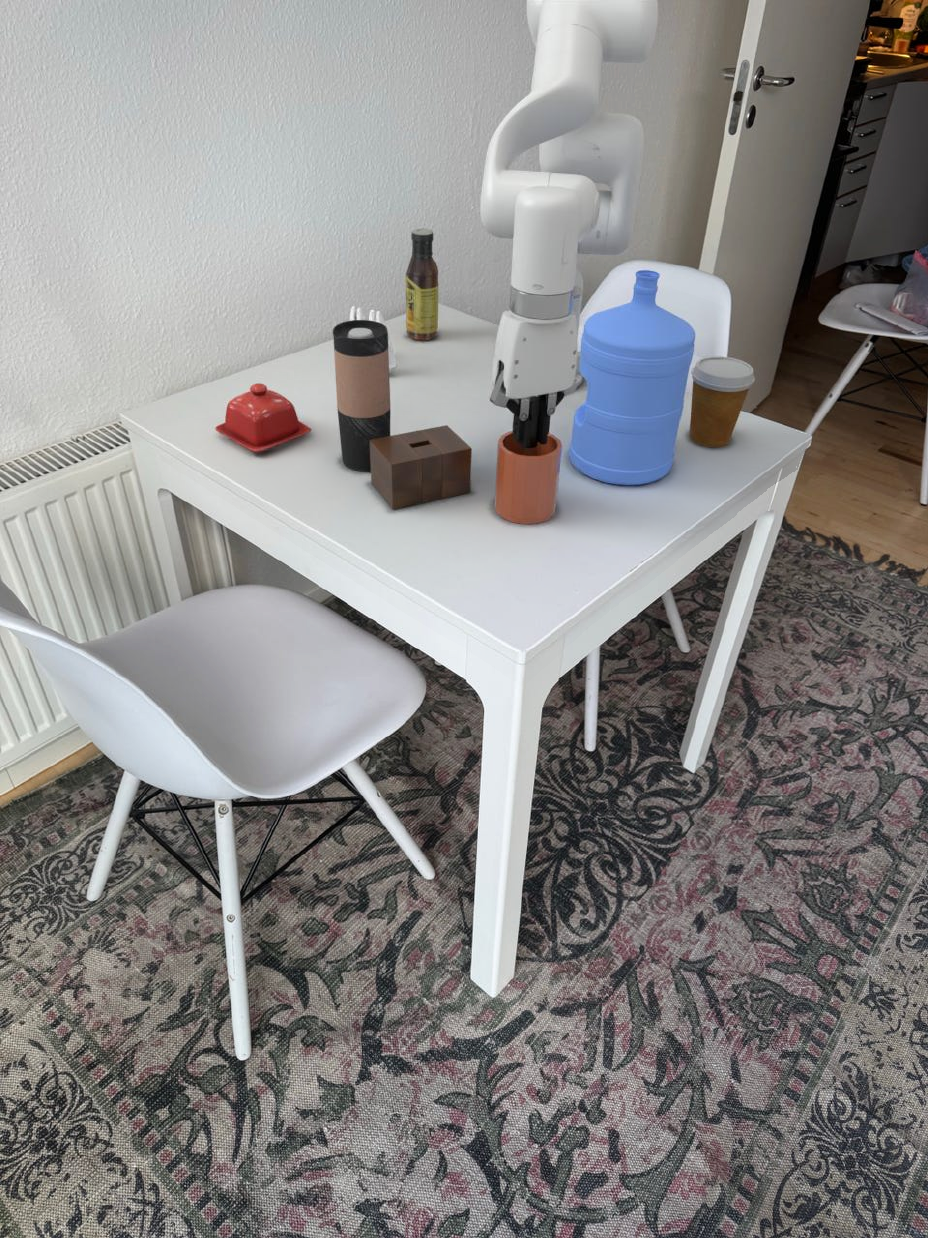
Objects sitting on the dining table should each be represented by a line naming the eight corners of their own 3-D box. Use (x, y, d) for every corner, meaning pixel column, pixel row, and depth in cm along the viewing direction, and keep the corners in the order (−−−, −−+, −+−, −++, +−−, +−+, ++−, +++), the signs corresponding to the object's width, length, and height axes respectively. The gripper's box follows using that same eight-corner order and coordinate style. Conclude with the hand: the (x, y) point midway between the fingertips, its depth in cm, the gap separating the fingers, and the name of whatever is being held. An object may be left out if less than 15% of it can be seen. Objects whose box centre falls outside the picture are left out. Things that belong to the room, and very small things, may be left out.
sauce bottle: (405, 330, 177) (404, 225, 165) (436, 330, 178) (437, 225, 166) (406, 342, 172) (405, 234, 160) (438, 342, 173) (439, 234, 161)
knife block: (446, 468, 132) (446, 424, 128) (470, 492, 127) (471, 448, 123) (371, 484, 128) (369, 439, 124) (392, 510, 122) (391, 464, 118)
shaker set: (399, 376, 159) (398, 314, 152) (379, 381, 157) (377, 319, 150) (364, 355, 167) (362, 295, 160) (345, 359, 165) (341, 299, 158)
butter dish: (316, 436, 139) (312, 385, 134) (256, 460, 133) (249, 407, 127) (271, 413, 146) (265, 363, 140) (211, 435, 139) (203, 384, 134)
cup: (535, 488, 128) (541, 424, 122) (566, 516, 122) (573, 450, 116) (484, 500, 125) (487, 435, 119) (513, 529, 119) (517, 462, 113)
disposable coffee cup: (744, 433, 144) (761, 361, 137) (732, 457, 138) (750, 383, 130) (687, 421, 147) (700, 350, 140) (672, 444, 141) (686, 371, 133)
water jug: (691, 464, 135) (730, 275, 118) (630, 499, 126) (662, 300, 109) (610, 430, 144) (634, 249, 127) (547, 461, 135) (565, 271, 118)
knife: (528, 499, 124) (536, 394, 115) (535, 505, 123) (544, 400, 113) (514, 502, 123) (522, 397, 114) (521, 508, 122) (529, 403, 113)
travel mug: (399, 453, 136) (397, 323, 123) (379, 476, 130) (374, 342, 118) (353, 445, 137) (346, 316, 125) (332, 467, 132) (322, 334, 119)
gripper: (580, 284, 112) (566, 420, 123) (467, 299, 106) (463, 441, 117) (613, 302, 106) (596, 443, 118) (497, 319, 101) (490, 465, 112)
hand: (530, 441), depth 117 cm, fingers closed on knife, 2 cm apart
